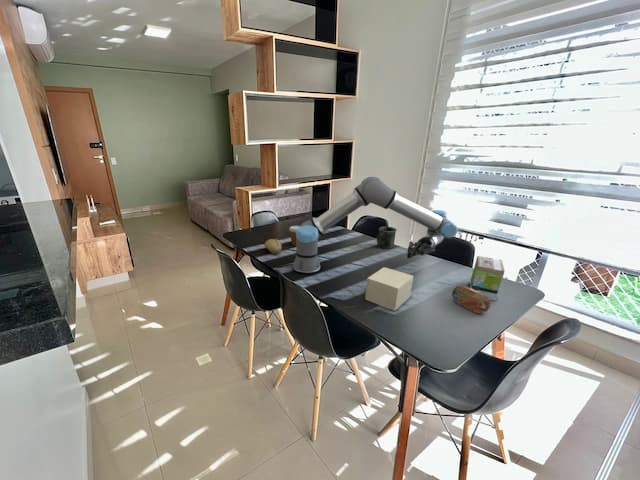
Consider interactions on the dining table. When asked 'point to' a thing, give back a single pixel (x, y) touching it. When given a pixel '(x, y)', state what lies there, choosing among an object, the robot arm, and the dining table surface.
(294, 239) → the disposable coffee cup
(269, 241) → the bread roll
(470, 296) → the orange brown snack packet
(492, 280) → the tea box
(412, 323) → the dining table surface
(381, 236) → the mug
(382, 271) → the cream foam cube
